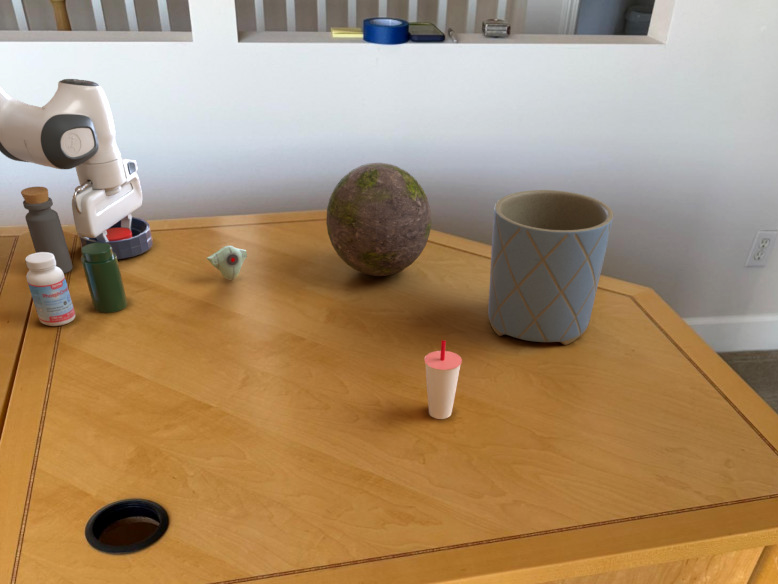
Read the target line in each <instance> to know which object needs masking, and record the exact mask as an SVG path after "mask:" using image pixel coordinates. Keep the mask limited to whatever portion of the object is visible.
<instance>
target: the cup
mask: <svg viewBox="0 0 778 584" xmlns="http://www.w3.org/2000/svg"><path fill="white" fill-rule="evenodd" d="M440 343H441V344H440V350H436V351H431V352H429V353H427V354H426V355H425V357H424V364H425V376H426V377H425V378H426V379H425V380H426V392H427V404H428V406H427V407H428V414H429V416H430V417H432V418H434V419H437V420H444V419H448V418H449V417H451V416H452V413H453V408H454V403H455V397H456V392H457V387H458V380H459V375H460V370H461V364H462V363H463V359H462V357H461V356H460V355H459V354H457V353H456V352H452V351H450V350H449V351H448V350H446V343H447V340H444V339H441V342H440Z"/></svg>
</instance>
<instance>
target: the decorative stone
mask: <svg viewBox="0 0 778 584" xmlns="http://www.w3.org/2000/svg"><path fill="white" fill-rule="evenodd" d="M325 220H326V221H325V222H326V230H327V235H328V238H329V240H330V243H331V245H332V247H333V249H334V251H335V252H336V254H337V255H338V257H339V258H340V259H341V260H342V261H343V262H344V263H345V264H346V265H347V266H349V267H350V268H352V269H353V270H355V271H356V272H358V273H361V274H365V275H367V276H373V277H387V276H391V275H395V274H397V273H400V272H403V271H404V270H405V269H406V268H408V267H410V266H411V265H412V264H414V263H415V261H417V260H418V258H420V256H421V255H422V253H423V251H424V249H425V248H426V245H427V243H428V241H429V237H430V235H431V228H432V210H431V206H430V203H429V200H428V196H427V194H426V193H425V190H424V188H423V187H422V186H421V185H420V183H419V182H418V181H417V179H416V178H415V177H414V176H413V175H412V174H411V173H409V172H408V171H406V170H405V169H404V168H401V167H399V166H397V165H395V164H390V163H387V162H370V163H365V164H362V165H360V166H358V167H356V168H354V169H351V170H350V171H349V172H348V173H347V174H345V175H344V176H343V177H341V178H340V180H339V181H338V183H337V184H336V186H335V187H334V189H333V190H332V192H331V195H330V197H329V199H328V203H327V208H326V219H325Z"/></svg>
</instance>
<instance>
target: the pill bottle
mask: <svg viewBox="0 0 778 584" xmlns="http://www.w3.org/2000/svg"><path fill="white" fill-rule="evenodd" d="M24 261H25V264H26V267H27V269H28V271H27V273H26V275H25V276H26V277H25V278H26V282H27V285H28V288H29V292H30V295H31V298H32V302H33V304H34V308H35V311H36V314H37V317H38V320H39V322H40V324H43V325H45V326H49V327H60V326H65V325H67V324H70V323H71V322H73V321H74V320H75V318H76V311H75V308H74V304H73V302H72V298H71V294H70V290H69V286H68V283H67V280H66V277H65V273H63V271H62V270H61V269H60V268H59V267H57V266H56V260H55V257H54V255H53V254H52V253H49V252H38V253H36V252H34V253H31V254H28V255H27V256H26V257H25V260H24Z"/></svg>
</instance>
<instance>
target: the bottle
mask: <svg viewBox="0 0 778 584" xmlns="http://www.w3.org/2000/svg"><path fill="white" fill-rule="evenodd" d="M20 194H21V196H22V198H23V201H22V205H23V208H24V209H25V210H27V211H28V212H27V213H26V214H25V218H24V219H25V221H26V225H27V228H28V233H29V235H30V238H31V241H32V244H33V247H34V248H33V249H34V251H35V253H38V252H49V253H52V254H53V255H54V257H55V260H56V266H57V267H59V268H60V269H61V270H62V271H63V273H64V274H67V273H69V272H71V271H72V269H73V268H74V267H73V263H72V259H71V256H70V252H69V248H68V244H67V241H66V237H65V233H64V230H63V226H62V223H61V219H60V217H59V214H58V212H57V211H56V210H54V209H52V206H53V204H54V202H53V199H52V198H51V197H50V196H49V189H48V188H47V187H45V186H29V187H26V188H24V189H22V190H21V191H20Z"/></svg>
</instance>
